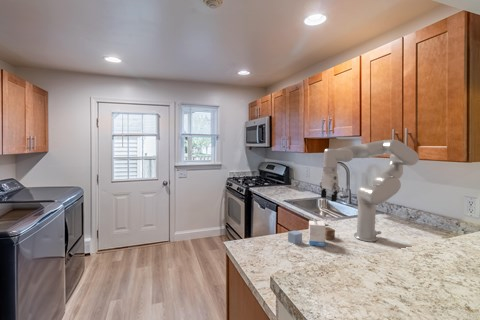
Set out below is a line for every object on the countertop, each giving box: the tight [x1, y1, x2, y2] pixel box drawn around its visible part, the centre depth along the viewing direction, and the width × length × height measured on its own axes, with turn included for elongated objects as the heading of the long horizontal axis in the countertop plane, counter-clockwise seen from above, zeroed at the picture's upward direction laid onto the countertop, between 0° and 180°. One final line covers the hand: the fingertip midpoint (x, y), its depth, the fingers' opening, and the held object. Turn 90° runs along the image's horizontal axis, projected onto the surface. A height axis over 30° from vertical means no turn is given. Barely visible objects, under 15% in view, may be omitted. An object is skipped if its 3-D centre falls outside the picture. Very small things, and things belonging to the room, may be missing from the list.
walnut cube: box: [325, 226, 336, 241], centre depth 148 cm, size 6×6×6 cm
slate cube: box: [287, 229, 303, 245], centre depth 142 cm, size 6×6×6 cm
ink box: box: [308, 217, 326, 247], centre depth 140 cm, size 9×8×13 cm
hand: (328, 199), depth 145 cm, fingers open, 9 cm apart
